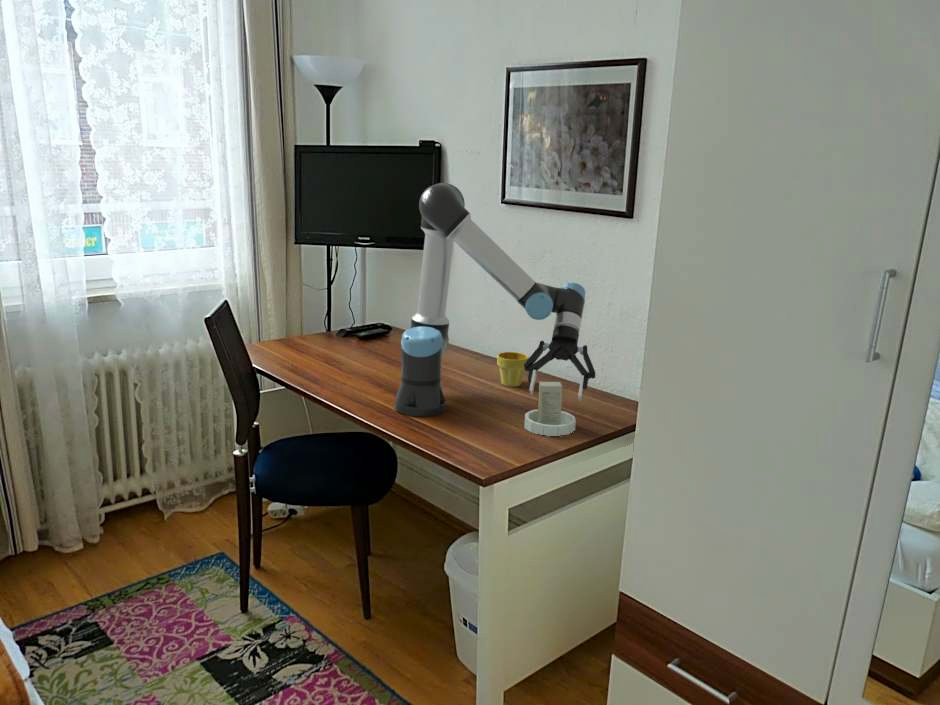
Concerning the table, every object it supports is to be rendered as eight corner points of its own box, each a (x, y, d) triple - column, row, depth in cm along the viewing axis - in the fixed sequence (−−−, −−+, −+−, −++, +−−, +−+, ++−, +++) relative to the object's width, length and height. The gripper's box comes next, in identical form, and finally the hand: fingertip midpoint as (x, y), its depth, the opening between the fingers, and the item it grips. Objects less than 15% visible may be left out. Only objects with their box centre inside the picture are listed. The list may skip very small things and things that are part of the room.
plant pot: (524, 389, 239) (526, 360, 237) (493, 386, 241) (494, 357, 239) (528, 381, 249) (530, 353, 247) (498, 378, 251) (500, 350, 249)
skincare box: (558, 422, 209) (561, 381, 205) (560, 428, 204) (563, 386, 201) (536, 422, 208) (538, 380, 205) (537, 427, 204) (540, 385, 201)
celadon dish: (540, 439, 197) (541, 428, 196) (515, 422, 209) (515, 412, 209) (584, 432, 203) (585, 422, 203) (557, 416, 215) (557, 406, 215)
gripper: (609, 342, 215) (600, 406, 205) (525, 333, 221) (512, 395, 211) (609, 328, 209) (600, 394, 199) (523, 319, 215) (509, 383, 205)
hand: (555, 395), depth 205 cm, fingers open, 13 cm apart
